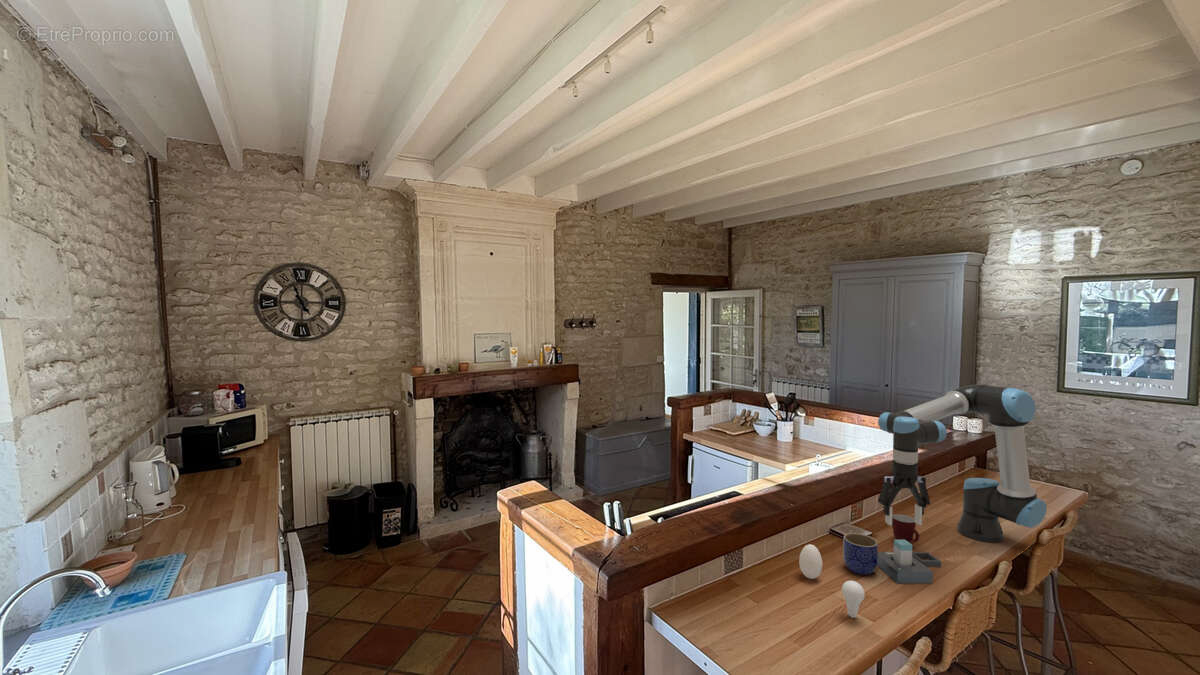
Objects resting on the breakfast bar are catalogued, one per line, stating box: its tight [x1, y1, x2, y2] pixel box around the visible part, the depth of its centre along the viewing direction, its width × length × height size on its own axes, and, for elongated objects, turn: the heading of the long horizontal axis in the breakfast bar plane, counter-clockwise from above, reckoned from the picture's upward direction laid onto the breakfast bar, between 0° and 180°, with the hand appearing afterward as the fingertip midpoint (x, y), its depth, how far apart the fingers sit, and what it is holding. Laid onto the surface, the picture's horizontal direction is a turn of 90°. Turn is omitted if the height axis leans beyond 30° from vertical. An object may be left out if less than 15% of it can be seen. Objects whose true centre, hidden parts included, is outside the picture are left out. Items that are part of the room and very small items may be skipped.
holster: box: [912, 551, 942, 568], centre depth 179 cm, size 7×7×2 cm
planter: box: [842, 532, 879, 576], centre depth 174 cm, size 11×11×11 cm
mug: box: [891, 513, 920, 544], centre depth 193 cm, size 10×8×10 cm
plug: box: [893, 539, 913, 566], centre depth 172 cm, size 4×4×11 cm
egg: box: [798, 543, 823, 580], centre depth 169 cm, size 7×7×12 cm
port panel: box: [876, 551, 934, 585], centre depth 172 cm, size 12×14×4 cm
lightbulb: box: [841, 580, 866, 619], centre depth 147 cm, size 6×6×11 cm
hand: (903, 523), depth 171 cm, fingers open, 10 cm apart
